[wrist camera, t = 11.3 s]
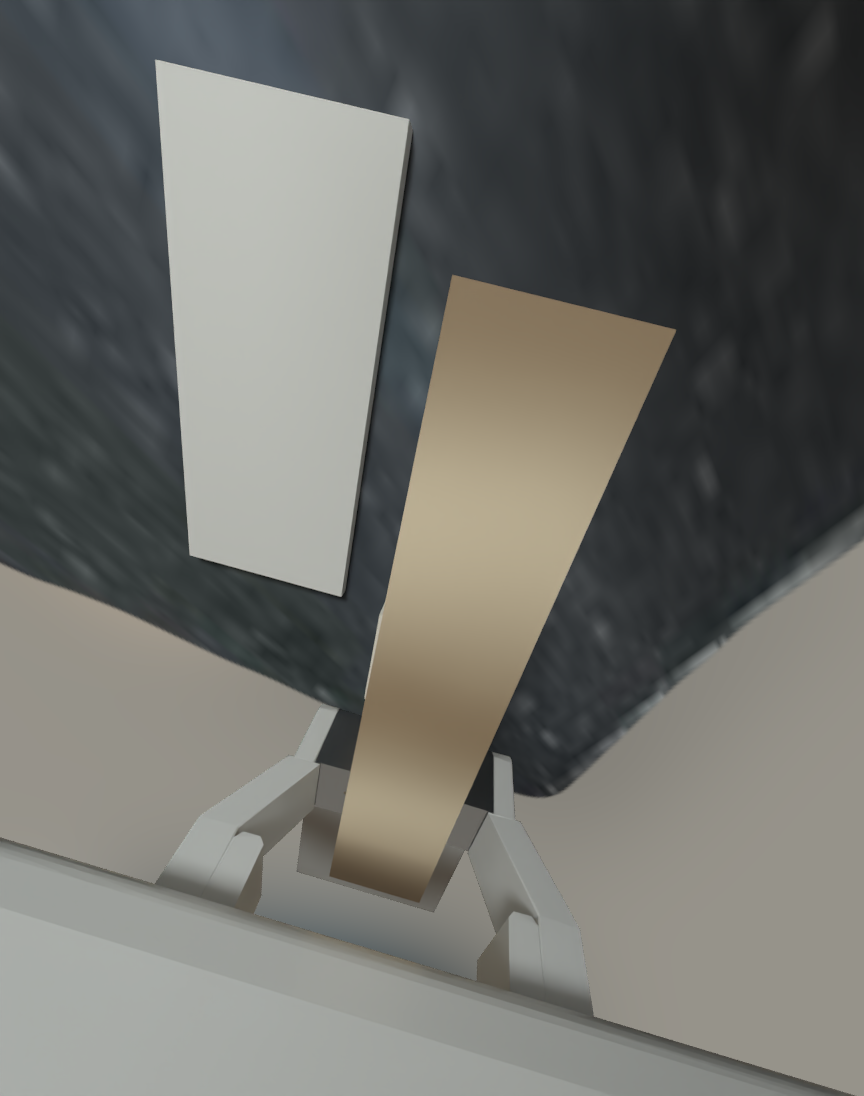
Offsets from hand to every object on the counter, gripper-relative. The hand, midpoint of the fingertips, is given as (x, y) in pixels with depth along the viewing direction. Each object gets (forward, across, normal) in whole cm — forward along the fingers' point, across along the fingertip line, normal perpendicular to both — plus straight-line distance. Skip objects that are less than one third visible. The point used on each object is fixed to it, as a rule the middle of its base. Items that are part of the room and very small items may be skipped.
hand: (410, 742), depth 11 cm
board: (+15, +12, -6) cm, 20 cm away
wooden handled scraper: (+2, 0, 0) cm, 2 cm away
